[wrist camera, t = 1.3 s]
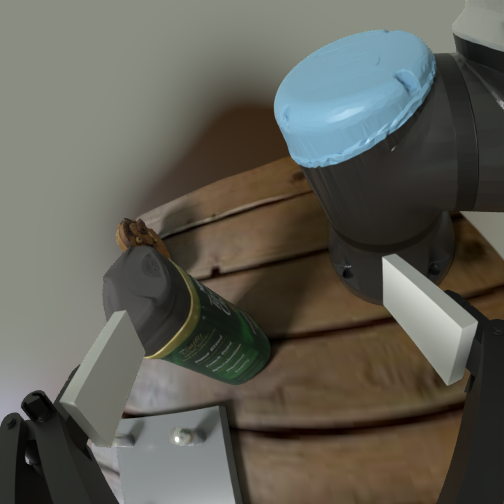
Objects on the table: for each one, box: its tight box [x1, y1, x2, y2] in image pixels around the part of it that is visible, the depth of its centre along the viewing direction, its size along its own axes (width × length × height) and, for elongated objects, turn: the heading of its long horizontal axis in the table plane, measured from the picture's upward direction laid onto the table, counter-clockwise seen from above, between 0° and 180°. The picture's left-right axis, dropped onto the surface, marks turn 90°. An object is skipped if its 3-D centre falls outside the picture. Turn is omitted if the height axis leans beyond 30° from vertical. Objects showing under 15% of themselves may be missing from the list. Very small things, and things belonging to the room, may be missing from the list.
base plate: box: [112, 406, 243, 504], centre depth 27 cm, size 20×20×6 cm
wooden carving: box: [116, 218, 171, 260], centre depth 47 cm, size 16×5×10 cm, turn 39°
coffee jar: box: [103, 246, 271, 385], centre depth 29 cm, size 10×8×19 cm
